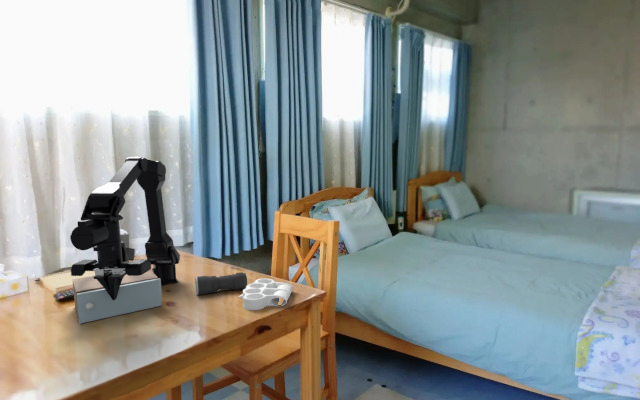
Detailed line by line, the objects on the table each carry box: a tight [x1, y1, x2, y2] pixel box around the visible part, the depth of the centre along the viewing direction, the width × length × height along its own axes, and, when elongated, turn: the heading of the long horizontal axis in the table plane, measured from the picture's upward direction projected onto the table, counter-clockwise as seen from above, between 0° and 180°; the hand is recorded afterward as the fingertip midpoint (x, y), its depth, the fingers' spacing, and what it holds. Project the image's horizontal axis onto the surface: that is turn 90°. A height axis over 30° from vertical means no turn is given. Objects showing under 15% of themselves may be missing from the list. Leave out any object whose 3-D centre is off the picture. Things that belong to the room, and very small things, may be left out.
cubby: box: [72, 269, 158, 321], centre depth 122 cm, size 20×12×8 cm, turn 123°
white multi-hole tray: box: [237, 278, 294, 311], centre depth 127 cm, size 3×18×15 cm
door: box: [77, 278, 163, 324], centre depth 116 cm, size 20×2×8 cm, turn 125°
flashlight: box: [194, 271, 248, 296], centre depth 133 cm, size 15×5×5 cm, turn 111°
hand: (114, 299), depth 113 cm, fingers closed
